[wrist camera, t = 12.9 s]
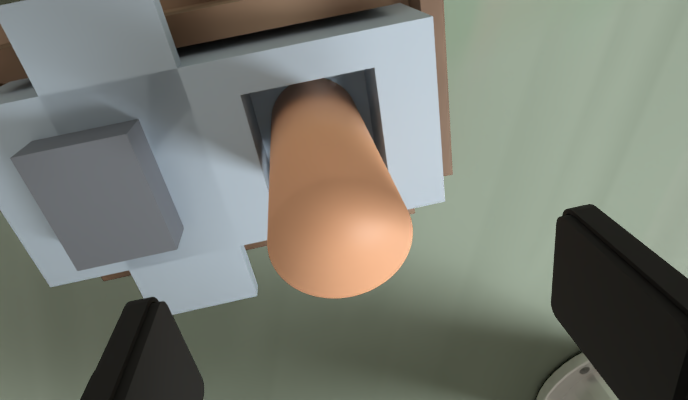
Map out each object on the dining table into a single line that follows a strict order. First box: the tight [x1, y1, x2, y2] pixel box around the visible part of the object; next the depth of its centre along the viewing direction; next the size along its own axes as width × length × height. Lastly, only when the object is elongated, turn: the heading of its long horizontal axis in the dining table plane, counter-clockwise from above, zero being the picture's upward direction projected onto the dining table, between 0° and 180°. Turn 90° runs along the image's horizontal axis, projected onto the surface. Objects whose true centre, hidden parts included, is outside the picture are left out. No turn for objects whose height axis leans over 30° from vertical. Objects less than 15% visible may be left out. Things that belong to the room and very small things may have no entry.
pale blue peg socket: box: [0, 0, 445, 315], centre depth 20 cm, size 18×14×7 cm
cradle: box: [0, 0, 453, 281], centre depth 22 cm, size 21×13×4 cm, turn 99°
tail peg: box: [267, 78, 413, 298], centre depth 17 cm, size 4×4×10 cm
